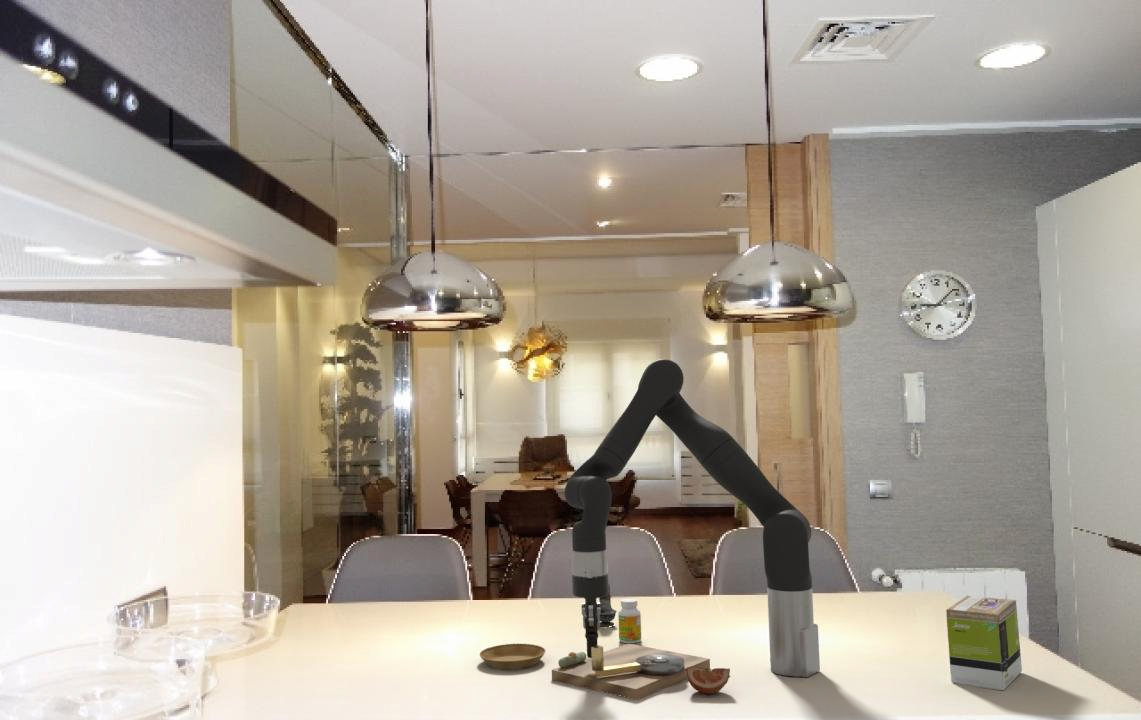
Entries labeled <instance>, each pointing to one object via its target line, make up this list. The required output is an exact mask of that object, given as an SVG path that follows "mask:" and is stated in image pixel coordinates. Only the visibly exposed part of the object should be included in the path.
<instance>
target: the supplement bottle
mask: <svg viewBox="0 0 1141 720" xmlns="http://www.w3.org/2000/svg"><path fill="white" fill-rule="evenodd" d="M638 605H639V604H638V599H636V598H623V599H621V600H620V607H621V608H620V609H619V610H618V638H619V639H618V640H619V642H620V641H621V643H622V642H624V643H623V644H636V643H635V642H638V643H640V642H641V641H642V615H641V610H640V609H639V608H637V607H638ZM639 641H640V642H639Z"/></svg>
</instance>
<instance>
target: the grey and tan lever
mask: <svg viewBox="0 0 1141 720" xmlns="http://www.w3.org/2000/svg"><path fill="white" fill-rule="evenodd" d="M603 652H604V646H603V645H598V646H592V647H591V653H592V670H593V671H595V675H597V676H598V677H603V676H609V675H616V674H623V673H629V672H636V671H639V672H642V673H646V674H653V675H668V674H675V673H679V672H681V671H683V670H684V669H685V663H684V659H683V658H682V657H680V656H676V655H671V654H649V655H644V656H641V657H638V658H637V659H636V662H635V663H628V664H621V665H614V666H608V667H604V654H603Z"/></svg>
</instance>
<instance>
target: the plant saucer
mask: <svg viewBox="0 0 1141 720" xmlns="http://www.w3.org/2000/svg"><path fill="white" fill-rule="evenodd" d="M546 652H547V651H546V648H545V647H542V646H540V645H537V644H531V643H508V644H507V643H505V644H499V645H494V646H490V647H487V648H484V649H483V650H481V651H480V652H479V656H480V658H481V660H482V661H484V663H486V664H487V665H488V666H489V667H490V668H492V669H498V670H521V669H527V668H530V667H533V666H535V665H536V664H538V663H539V662H540V660H541V659H542V657H544V655H545V653H546Z"/></svg>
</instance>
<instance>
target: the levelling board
mask: <svg viewBox="0 0 1141 720" xmlns="http://www.w3.org/2000/svg"><path fill="white" fill-rule="evenodd" d="M603 654H604V667H608V666H614V665H621V664H628V663H635V662H636V659H637V658H638V657H641V656H644V655H649V654H671V655H676V656H680V657H682V658H683V659H684V663H685V669H684V670H683V671H681V672H679V673H675V674H668V675H653V674H646V673H642V672H639V671H636V672H629V673H623V674H616V675H609V676H603V677H598V676H597V675H595V671H593V670H592V658H588V657H587V653H585V652H584V651H579V652H575V651H571V652H569V653H568V655H567V656H564V657H561V658H560V659H559V660H558V661H557V662H558V666H559V667H556V668H552V669H551V680H552V681H556V682H560V683H565V684H567V685H568V684H569V685H573V686H577V687H581V688H586V689H589V690H593V689H594V691H597V690H598V692H602V691H603V692H602V693H606V692H608V693H607V694H610V693H612V694H611V695H614V694H616V695H615V696H618V695H621V696H620V697H623V696H625V697H624V698H627V697H629V698H628V699H631V698H633V699H632V700H635V699H637V700H639V699H642V698H644V697H646V695H647V696H649V695H651V694H653V692H654V693H656V692H658V691H660V690H662V689H665V688H668V687H669V686H673V685H675V684H677V683H679V682H682V681H684V680H686V679H688V677H687V667H697V668H707V669H708V670H711V659H710V658H707V657H702V656H697V655H691V654H687V653H686V654H685V653H680V652H676V651H669V650H665V649H660V648H654V647H649V646H644V645H637V644H634V643H624V644H622V645H620V646H618V647H614V648H611V649H609V650H605V651H603ZM648 694H649V695H648ZM643 696H644V697H643ZM641 697H642V698H641ZM638 698H639V699H638Z"/></svg>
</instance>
